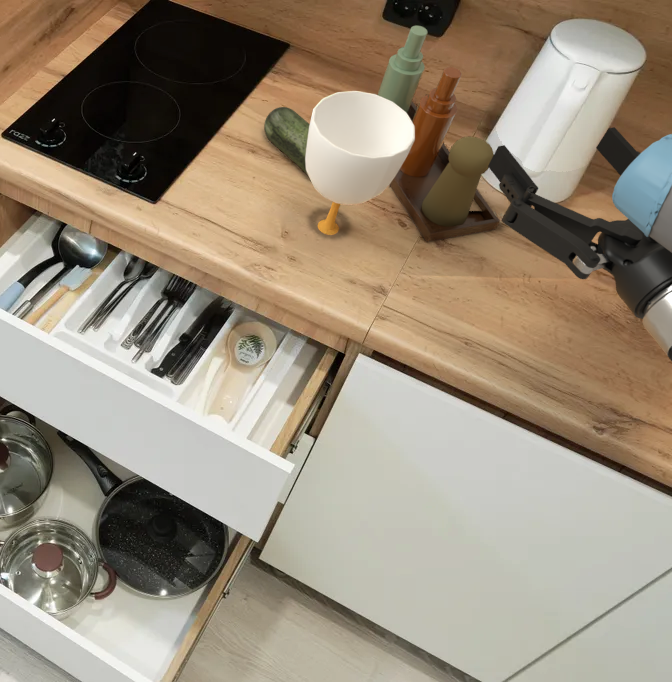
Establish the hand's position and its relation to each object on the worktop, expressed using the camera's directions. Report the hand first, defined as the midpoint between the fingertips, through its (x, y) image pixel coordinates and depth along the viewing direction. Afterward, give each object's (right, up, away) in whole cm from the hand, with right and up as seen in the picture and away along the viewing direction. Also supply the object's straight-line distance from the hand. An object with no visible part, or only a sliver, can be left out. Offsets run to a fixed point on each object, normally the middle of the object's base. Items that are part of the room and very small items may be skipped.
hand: (551, 146), depth 86 cm
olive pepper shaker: (-4, -4, +21) cm, 21 cm away
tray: (-7, +3, +26) cm, 27 cm away
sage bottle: (-9, +11, +30) cm, 34 cm away
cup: (-20, -7, +18) cm, 28 cm away
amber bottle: (-7, +4, +25) cm, 27 cm away
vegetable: (-22, +5, +26) cm, 35 cm away
